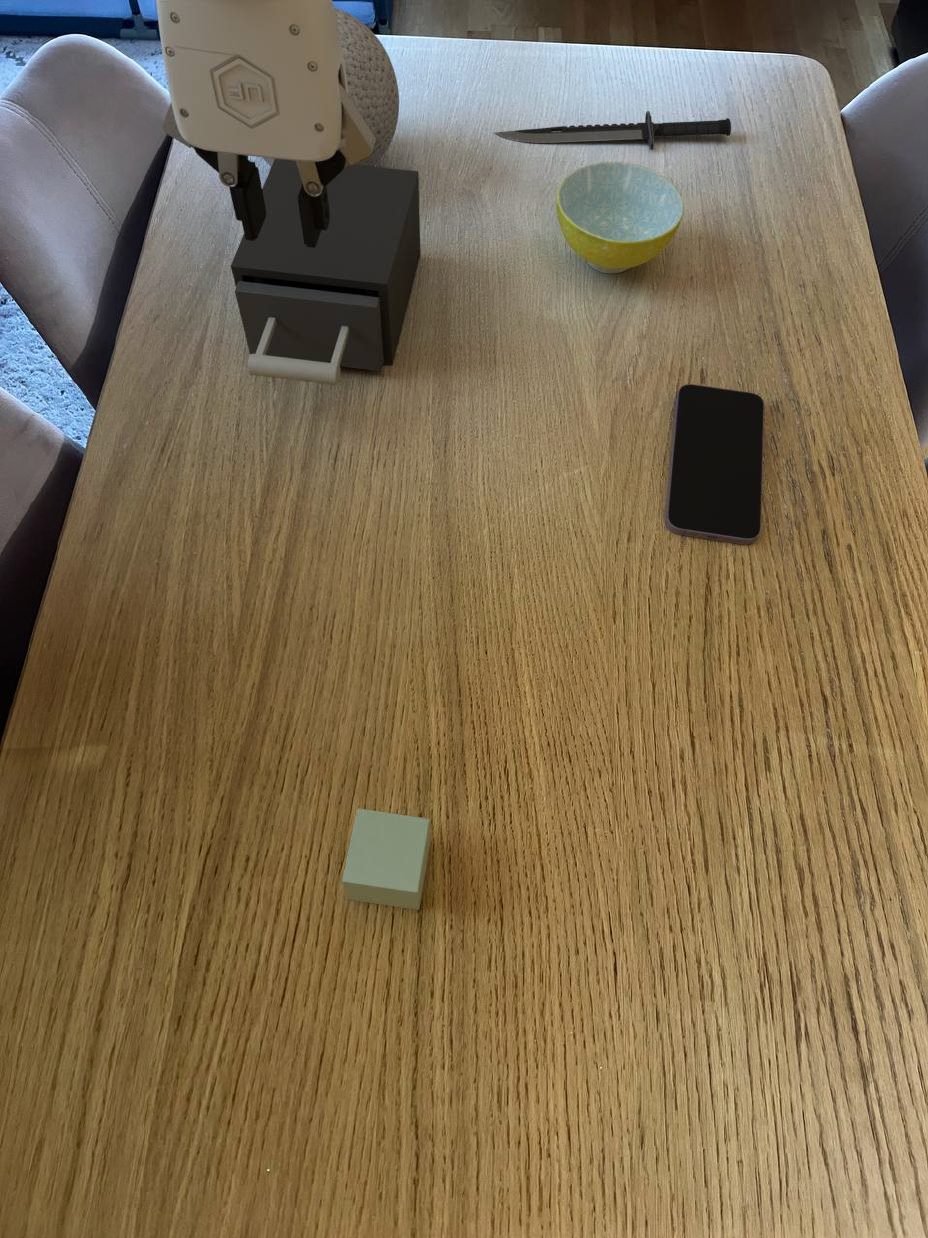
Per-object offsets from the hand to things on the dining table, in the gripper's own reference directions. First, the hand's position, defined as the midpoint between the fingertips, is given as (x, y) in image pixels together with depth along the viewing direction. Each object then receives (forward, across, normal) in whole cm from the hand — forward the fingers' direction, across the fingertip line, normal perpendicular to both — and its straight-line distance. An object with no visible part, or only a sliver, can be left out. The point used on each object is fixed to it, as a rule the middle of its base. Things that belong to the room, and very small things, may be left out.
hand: (285, 229), depth 64 cm
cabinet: (+15, 0, +11) cm, 19 cm away
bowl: (+15, +24, +21) cm, 35 cm away
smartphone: (+15, +34, -3) cm, 37 cm away
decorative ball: (+15, -5, +29) cm, 33 cm away
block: (+15, +14, -39) cm, 44 cm away
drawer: (+14, 0, +6) cm, 15 cm away
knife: (+15, +23, +40) cm, 49 cm away
